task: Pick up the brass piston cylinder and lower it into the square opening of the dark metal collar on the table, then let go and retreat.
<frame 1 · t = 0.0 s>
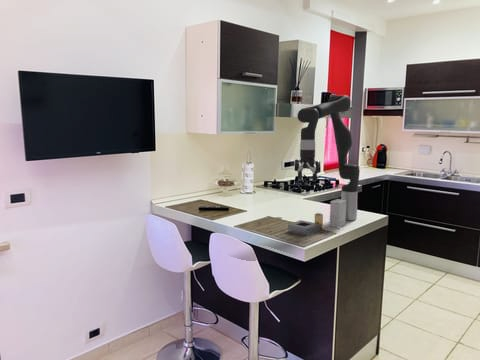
hand: (307, 180, 196), 29 cm above the countertop, fingers open, 8 cm apart
piston: (318, 228, 213), on the countertop
skincare box: (337, 226, 218), on the countertop
collar: (303, 231, 208), on the countertop
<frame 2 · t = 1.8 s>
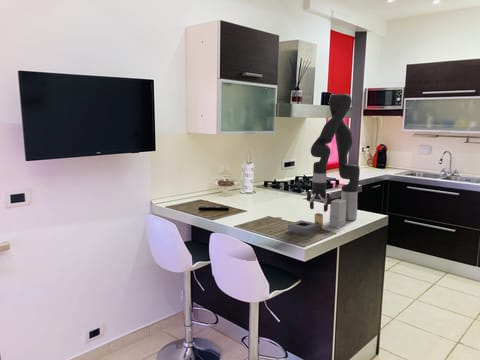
hand: (318, 210, 211), 10 cm above the countertop, fingers open, 8 cm apart
nothing on the countertop moved.
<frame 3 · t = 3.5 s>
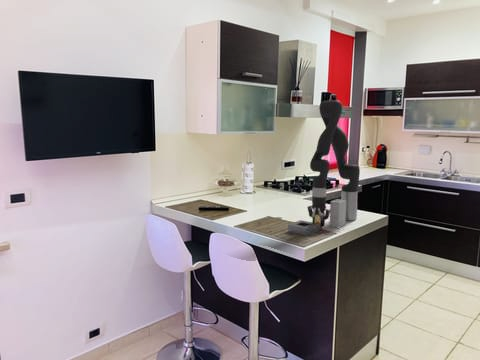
hand: (318, 225, 213), 2 cm above the countertop, fingers closed on piston, 4 cm apart
piston: (318, 228, 213), on the countertop, touching gripper
everything else where it was.
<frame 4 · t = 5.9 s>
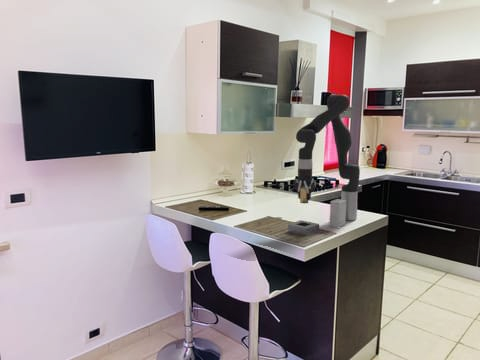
hand: (304, 199, 205), 18 cm above the countertop, fingers closed on piston, 4 cm apart
piston: (304, 202, 205), point 16 cm above the countertop, touching gripper
everything else where it was.
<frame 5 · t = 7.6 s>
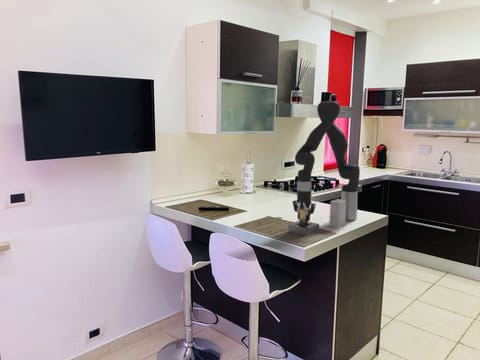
hand: (303, 220, 207), 6 cm above the countertop, fingers closed on piston, 4 cm apart
piston: (303, 223, 207), point 4 cm above the countertop, touching gripper
everything else where it was.
when the fingers open (5 cm above the countertop, at t = 8.6 s): piston drops 3 cm, resting in collar.
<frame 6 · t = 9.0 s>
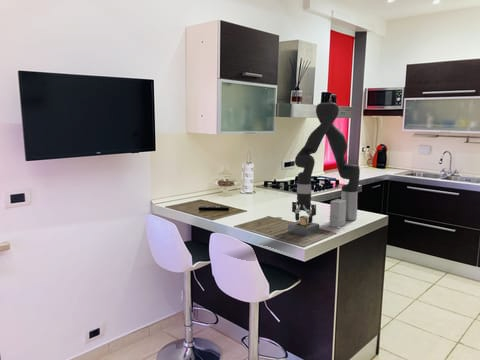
hand: (303, 221, 207), 5 cm above the countertop, fingers open, 7 cm apart
piston: (303, 231, 208), resting in collar
everything else where it was.
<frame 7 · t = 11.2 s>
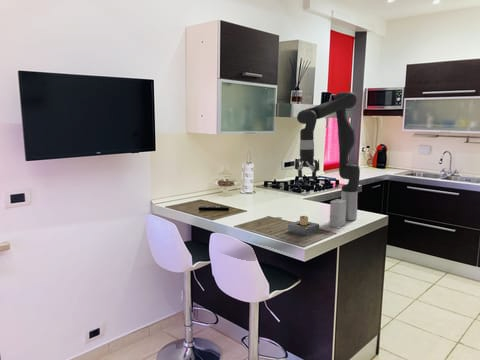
hand: (306, 178, 208), 29 cm above the countertop, fingers open, 8 cm apart
nothing on the countertop moved.
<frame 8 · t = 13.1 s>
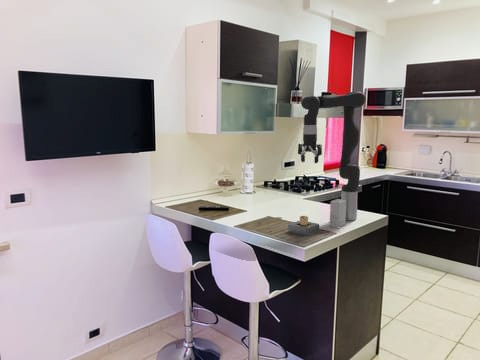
hand: (309, 162, 214), 36 cm above the countertop, fingers open, 8 cm apart
nothing on the countertop moved.
at the end: piston 0.1 cm off-centre on the collar, point 0.0 cm above the collar's base; piston tilted 0°; the gripper is holding nothing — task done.
